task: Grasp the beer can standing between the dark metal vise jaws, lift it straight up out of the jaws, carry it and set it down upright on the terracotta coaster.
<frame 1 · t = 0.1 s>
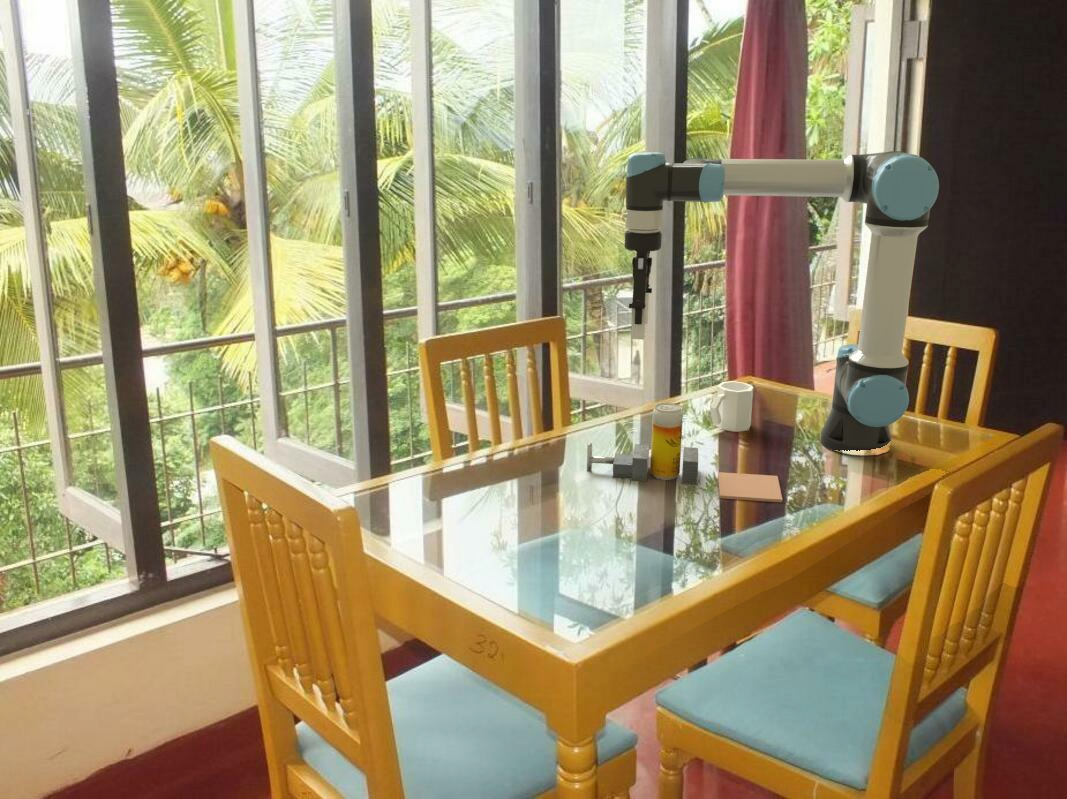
hand: (639, 331, 200), 28 cm above the table, fingers open, 13 cm apart
coaster: (749, 488, 190), on the table
vise: (664, 475, 197), on the table
mug: (727, 428, 225), on the table
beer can: (664, 476, 197), on the table
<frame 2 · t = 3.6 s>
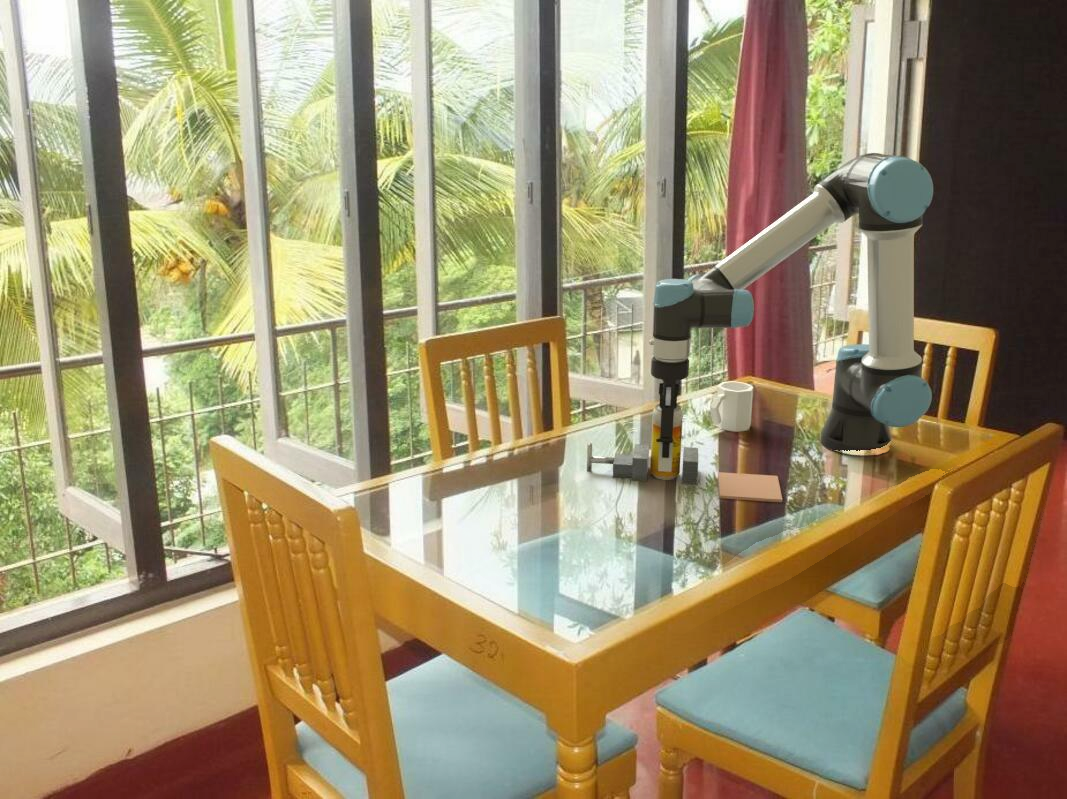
hand: (665, 464, 196), 2 cm above the table, fingers closed on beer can, 6 cm apart
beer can: (664, 476, 197), on the table, touching gripper
everything else where it was.
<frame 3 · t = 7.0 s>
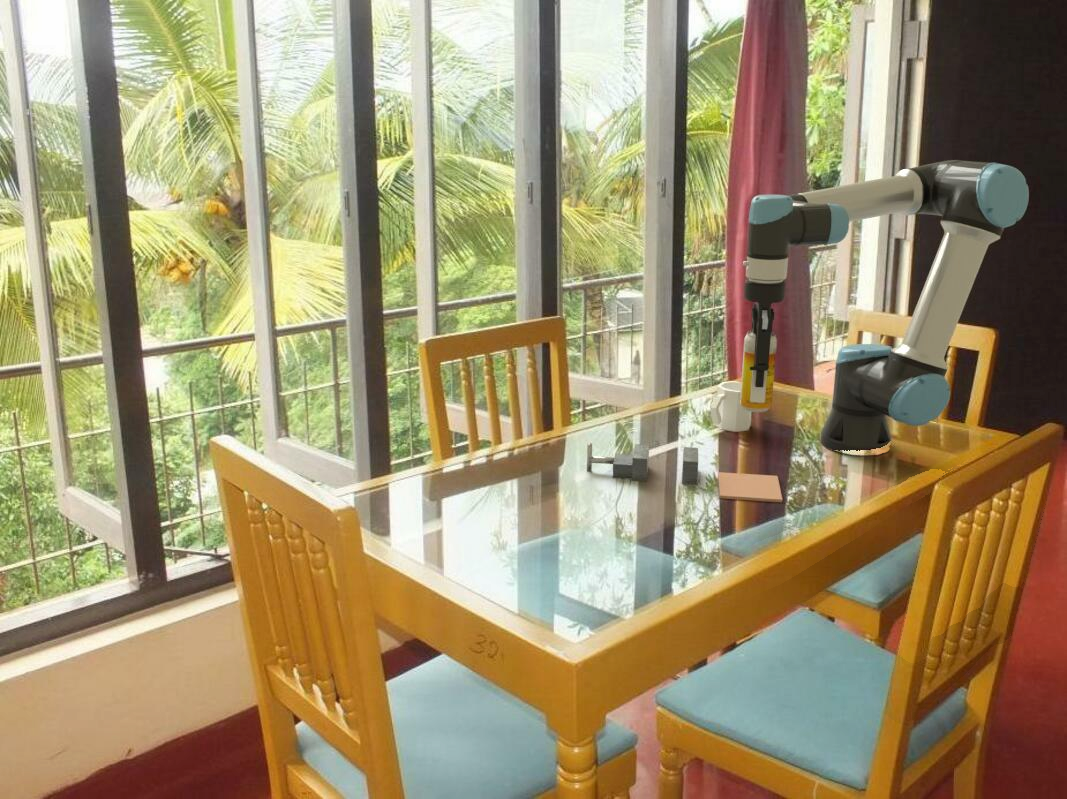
hand: (756, 396, 184), 19 cm above the table, fingers closed on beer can, 6 cm apart
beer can: (755, 409, 185), point 17 cm above the table, touching gripper
everything else where it was.
when the fingers open (4 cm above the table, at t = 10.4 s): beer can drops 1 cm, resting on coaster.
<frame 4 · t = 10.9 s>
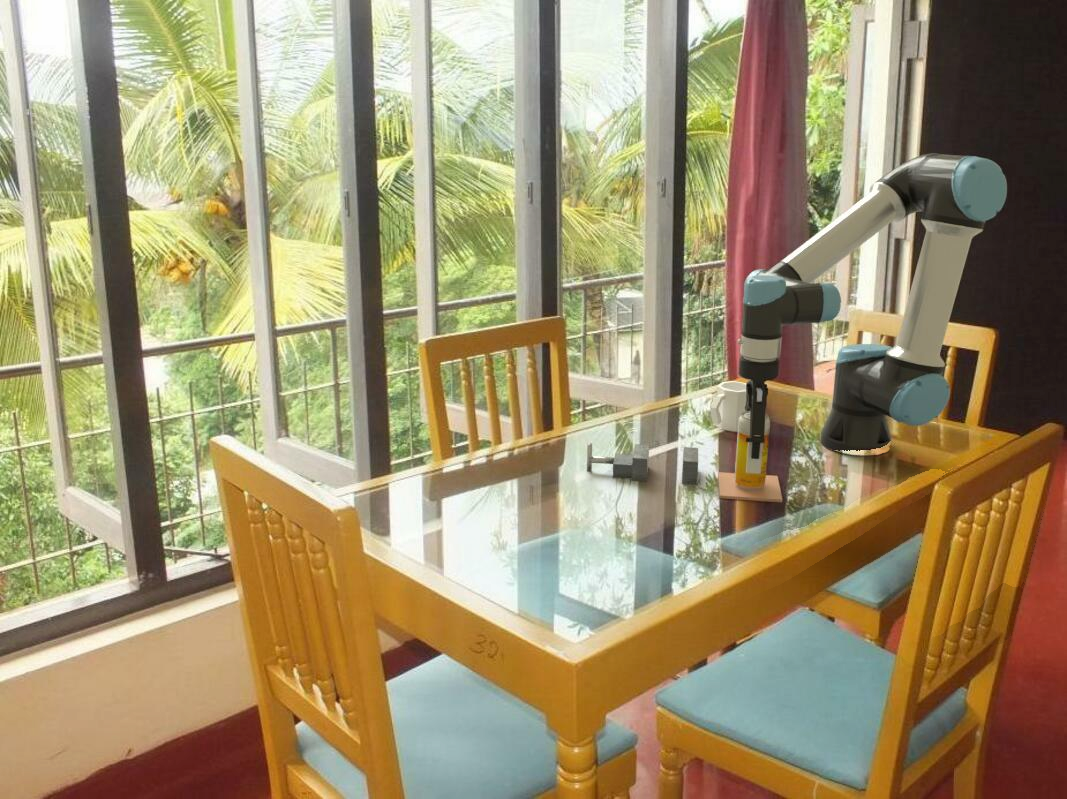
hand: (751, 460, 189), 6 cm above the table, fingers open, 13 cm apart
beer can: (749, 486, 190), resting on coaster
everything else where it was.
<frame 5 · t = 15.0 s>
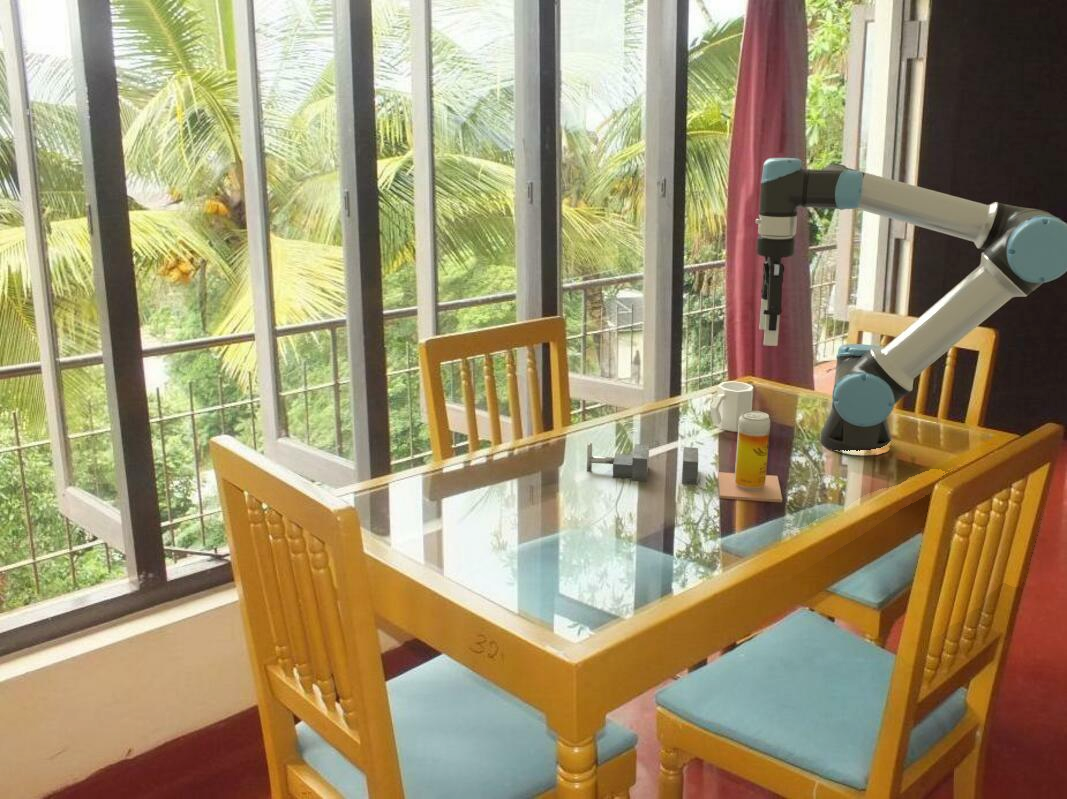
hand: (767, 337, 199), 27 cm above the table, fingers open, 13 cm apart
nothing on the table moved.
at the end: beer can inside the target area on the coaster (0.0 cm from its centre), point 0.4 cm above the coaster's base; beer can tilted 0°; the gripper is holding nothing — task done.
